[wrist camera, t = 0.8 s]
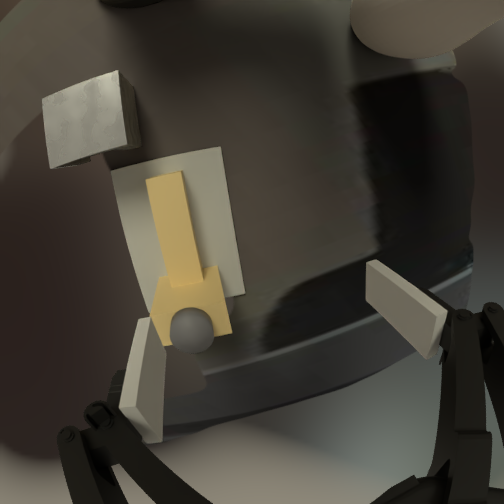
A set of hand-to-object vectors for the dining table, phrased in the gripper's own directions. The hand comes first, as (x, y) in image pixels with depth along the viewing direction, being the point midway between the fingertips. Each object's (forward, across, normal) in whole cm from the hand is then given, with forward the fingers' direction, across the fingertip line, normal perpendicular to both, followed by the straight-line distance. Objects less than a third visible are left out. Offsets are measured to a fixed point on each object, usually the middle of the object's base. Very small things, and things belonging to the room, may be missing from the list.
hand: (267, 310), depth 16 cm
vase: (+23, +27, +25) cm, 43 cm away
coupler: (+22, -6, -1) cm, 23 cm away
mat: (+22, -6, -1) cm, 23 cm away
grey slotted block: (+22, -13, +16) cm, 30 cm away
